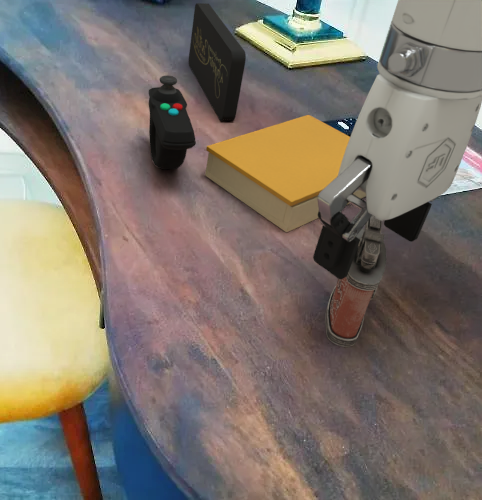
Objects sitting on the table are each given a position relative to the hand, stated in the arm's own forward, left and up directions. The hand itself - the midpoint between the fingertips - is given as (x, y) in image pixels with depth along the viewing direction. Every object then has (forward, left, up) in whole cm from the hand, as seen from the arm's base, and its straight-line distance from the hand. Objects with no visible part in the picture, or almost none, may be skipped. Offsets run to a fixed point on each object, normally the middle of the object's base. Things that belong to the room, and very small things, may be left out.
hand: (365, 250), depth 56 cm
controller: (-3, -30, -8) cm, 31 cm away
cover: (-14, -19, -5) cm, 24 cm away
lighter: (0, 0, -8) cm, 8 cm away
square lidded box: (-14, -19, -8) cm, 25 cm away
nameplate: (-22, -44, -8) cm, 50 cm away
